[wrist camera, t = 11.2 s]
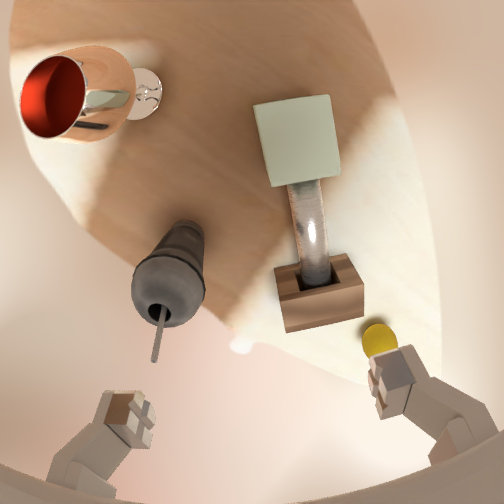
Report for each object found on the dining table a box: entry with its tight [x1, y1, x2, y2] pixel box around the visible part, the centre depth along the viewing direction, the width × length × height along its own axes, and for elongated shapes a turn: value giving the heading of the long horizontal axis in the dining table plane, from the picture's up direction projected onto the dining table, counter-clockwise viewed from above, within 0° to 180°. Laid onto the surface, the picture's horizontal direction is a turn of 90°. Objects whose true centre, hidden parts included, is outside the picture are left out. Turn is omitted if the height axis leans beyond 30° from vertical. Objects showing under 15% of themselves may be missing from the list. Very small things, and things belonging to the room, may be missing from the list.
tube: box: [287, 178, 332, 291], centre depth 35 cm, size 16×4×4 cm, turn 12°
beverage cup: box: [131, 220, 206, 363], centre depth 30 cm, size 7×7×20 cm
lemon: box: [362, 324, 398, 358], centre depth 44 cm, size 6×6×8 cm
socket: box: [274, 254, 364, 333], centre depth 39 cm, size 5×10×8 cm, turn 102°
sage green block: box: [252, 94, 342, 187], centre depth 30 cm, size 8×7×7 cm
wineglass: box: [20, 46, 162, 144], centre depth 22 cm, size 8×8×18 cm
